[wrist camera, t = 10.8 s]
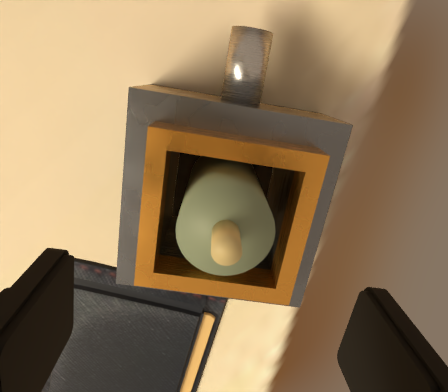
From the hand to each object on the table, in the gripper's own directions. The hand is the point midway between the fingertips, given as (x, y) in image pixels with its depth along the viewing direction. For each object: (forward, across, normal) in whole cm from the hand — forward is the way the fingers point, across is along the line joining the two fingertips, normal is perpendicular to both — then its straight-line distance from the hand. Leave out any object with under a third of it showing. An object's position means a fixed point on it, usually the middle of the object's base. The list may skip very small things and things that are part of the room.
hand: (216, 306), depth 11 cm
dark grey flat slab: (+16, +5, +20) cm, 26 cm away
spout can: (+15, -1, +1) cm, 15 cm away
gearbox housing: (+15, -1, -1) cm, 15 cm away
